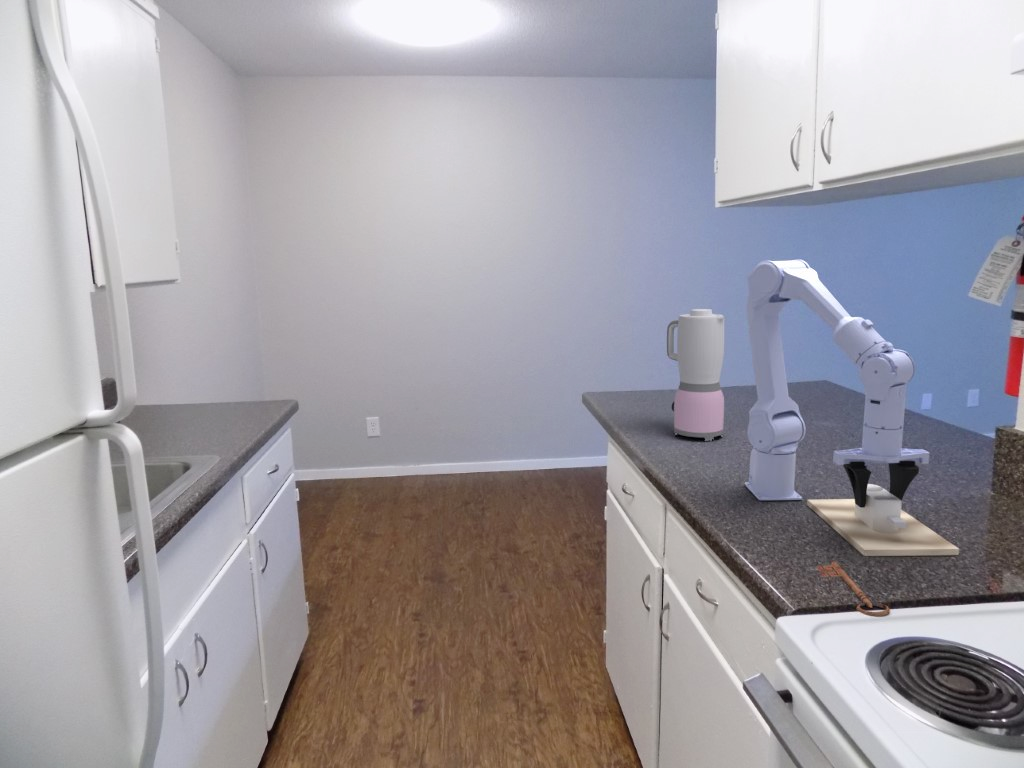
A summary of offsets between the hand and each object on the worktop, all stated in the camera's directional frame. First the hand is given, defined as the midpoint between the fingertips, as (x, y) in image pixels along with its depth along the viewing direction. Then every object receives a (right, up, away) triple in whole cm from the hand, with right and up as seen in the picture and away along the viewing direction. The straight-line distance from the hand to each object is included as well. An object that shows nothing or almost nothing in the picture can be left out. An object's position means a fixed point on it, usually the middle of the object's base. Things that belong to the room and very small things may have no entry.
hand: (877, 505), depth 114 cm
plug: (0, -3, -1) cm, 3 cm away
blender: (-14, +7, +62) cm, 64 cm away
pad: (0, -4, +1) cm, 4 cm away
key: (-14, -9, -19) cm, 26 cm away
